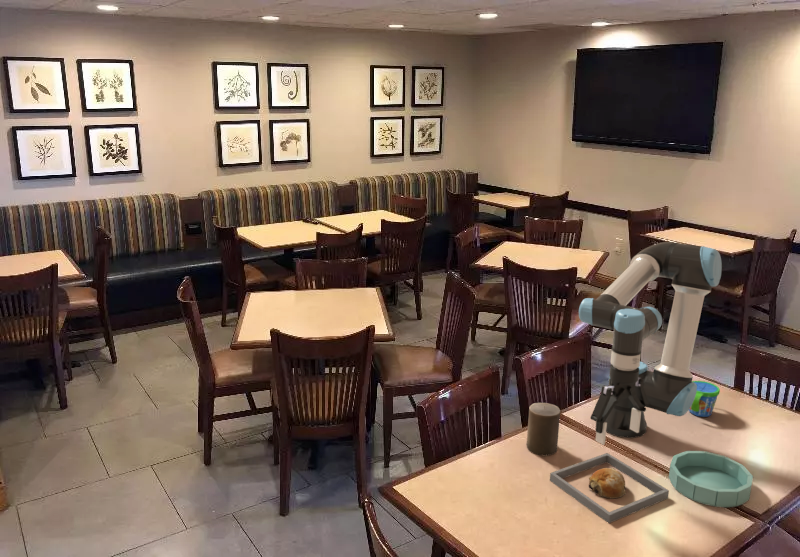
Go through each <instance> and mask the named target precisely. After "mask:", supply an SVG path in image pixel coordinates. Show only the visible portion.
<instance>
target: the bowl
mask: <svg viewBox="0 0 800 557" xmlns="http://www.w3.org/2000/svg"><path fill="white" fill-rule="evenodd" d="M753 478H754V475H753V474H752V473H751V472H750V471H749V470H748V469H747V468H746V466H745V465H743V464H742V463H739V462H738V461H736V460H734V459H733V458H730V457H728V456H726V455H723V454H719V453H714V452H710V451H706V450H685V451H683V452H680V453H677V454H675V455H673V456H672V458H671V461H670V466H669V472H668V480H669V481H670V483H671V486H673V488H674V489H675V490H676V491H677V492H679V493H680V495H682V496H684V497H685V498H688V499H689V500H691V501H694V502H696V503H699V504H703V505H706V506H711V507H717V508H735V507H738V506H742V505H744V504H746V503H747V501H749V500H750V497H751V491H752V484H753Z"/></svg>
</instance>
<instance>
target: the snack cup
mask: <svg viewBox="0 0 800 557" xmlns="http://www.w3.org/2000/svg"><path fill="white" fill-rule="evenodd" d="M692 382H694V383H695V384H696V385H697V392H696V395H695V398H694V401H693V403H692V405H691V407H690V409H689V410H688V412H689V413H691V414H692V415H694V416H696V417H701V418H702V417H703V418H705V417H710V416H711V415H712V413H713V411H714V408H715V406H716V402H717V397H718V396H719V395H720V392H721V390H720V387H718V386H717V385H716V384H715V383H711V382H708V381H703V380H692Z"/></svg>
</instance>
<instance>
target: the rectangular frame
mask: <svg viewBox="0 0 800 557" xmlns="http://www.w3.org/2000/svg"><path fill="white" fill-rule="evenodd" d="M605 463H607V464H608V465H610V466H612V468H614V469H615V470H617V471H619V472H620V473H623V474H624V475H626V476H628V477H629V478H631V479H633V480H634V481H635V482H637V483H639V484H640V485H642V486H643V487H645V488H647V489H649V491H652V492H653V493H652V494H650V495H647V496H645V497H643V498H640V499H638V500H635V501H633V502H630V503H628V504H626V505H624V506H621V507H618V508H616V509H613V510H610V511H609V510H608V509H606V508H604V507H603V506H602V505H600V504H599V503H597V502H596V501H594V500H593V499H591V497H589V496H588V495H586V494H584V493H583V492H582V491H580V490H579V489H578V488H576V487H575V486H574V485H572V484H570V483H569V482H568V481H566V480H565V478H567V477H570V476H573V475H576V474H579V473H581V472H584V471H587V470H590V469H592V468H595V467H598V466H600V465H603V464H605ZM549 474H550V475H549V482H551V483H552V482H553V484H554V485H555V486H556V487H558V488H559V487H560V488H559V489H561V491H563V492H565V493H566V494H568V495H569V496H571V498H573V499H574V498H575V500H576V501H577V502H579V503H580V504H581V505H582V506H584V507H585V508H587V509H588V510H590V511H591V512H593V513H594V514H595V515H596V516H598V517H599V518H601V519H602V520H603V521H605V523H607V522H608V523H607V524H611V523H613V522H616V521H618V520H620V519H622V518H625V517H627V516H629V515H630V516H631V514H634V513H636V512H639V511H641V510H643V509H646V508H648V507H651V506H653V505H655V504H658V503H659V502H662V501H665V500H667V499H669V492H670V490H669V489H668V488H666V487H664V486H662V485H661V484H659V483H658V482H656V481H655V480H653V479H651V478H649V477H648V476H646V475H645V474H643V473H641V472H639V471H638V470H636V469H634V468H633V467H631V466H629V465H628V464H626V463H624V462H623V461H621V460H620V459H618V458H616V457H615V456H613V455H611V454H610V453H608V452H605V453H603V454H601V455H597V456H595V457H592V458H589V459H586V460H583V461H581V462H578V463H574V464H572V465H569V466H566V467H563V468H560V469H558V470H555V471H553V472H550V473H549Z"/></svg>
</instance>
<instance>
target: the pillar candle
mask: <svg viewBox="0 0 800 557" xmlns="http://www.w3.org/2000/svg"><path fill="white" fill-rule="evenodd" d="M560 417H561V409H560V408H559V406H557V405H555V404H552V403H550V402H549V403H547V402H535V403H532V404H531V405H529V409H528V421H527V422H528V423H527V431H526V432H527V434H526V435H527V436H526V448H527V450H528V451H529V452H531V453H532V452H533V454H535V455H537V456H538V455H539V456H546V455H547V456H550V455H551V456H552V455H554V454H556V453H557V451H558V444H559V443H558V441H559V431H560V430H559V429H560V421H561V420H560Z"/></svg>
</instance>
